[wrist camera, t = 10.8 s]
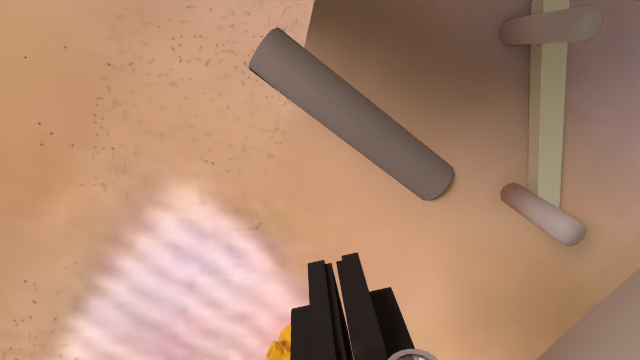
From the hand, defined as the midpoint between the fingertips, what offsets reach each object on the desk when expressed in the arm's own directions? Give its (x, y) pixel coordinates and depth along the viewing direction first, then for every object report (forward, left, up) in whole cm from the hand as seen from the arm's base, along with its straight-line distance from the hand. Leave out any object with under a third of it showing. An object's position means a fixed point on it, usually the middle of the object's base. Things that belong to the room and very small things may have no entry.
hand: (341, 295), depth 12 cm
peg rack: (0, +17, -21) cm, 27 cm away
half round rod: (-2, +4, -22) cm, 22 cm away
